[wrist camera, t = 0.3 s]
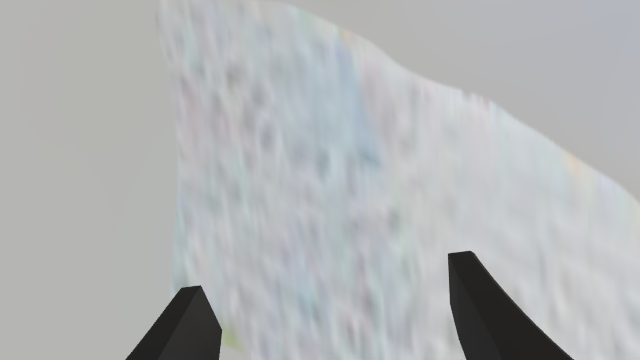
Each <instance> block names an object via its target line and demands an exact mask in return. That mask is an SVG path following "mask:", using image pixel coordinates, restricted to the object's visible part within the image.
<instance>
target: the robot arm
mask: <svg viewBox="0 0 640 360" xmlns="http://www.w3.org/2000/svg"><path fill="white" fill-rule="evenodd" d="M448 266H449V290H450V305H451V309H452V313H453V318H454V322H455V326H456V329H457V333H458V337H459V340H460V343H461V346H462V349H463V351H464V354H465V357H466V360H574V359H572V358H571V357H570V356H569V355H568V354H567V353H566V352H564V351H563V350H562V349H561V348H560V347H559V346H558V345H557V344H556V343H554V342H553V341H552V340H551V339H550V338H549V337H548V336H547V335H546V334H545V333H544V332H543V331H542V330H541V329H540V328H539V327H538V326H537V325H536V324H535V323H534V322H533V321H532V320H531V319H530V318H529V317H528V316H527V315H526V314H525V313H524V312H523V311H522V310H521V309H520V308H519V307H518V306H517V305H516V303H515V302H514V301H513V300H512V299H511V298H510V297H509V296H508V295H507V294H506V292H505V291H504V290H503V289H502V288H501V287H500V286H499V284H498V283H497V282H496V281H495V280H494V278H493V277H492V276H491V275H490V273H489V272H488V271H487V270H486V268H485V267H484V266H483V265H482V263H481V262H480V261H479V259H478V258H477V256H476V255H475V254H474V253H473V252H472V251H465V252H457V253H449V254H448ZM221 336H222V329H221V327H220V325H219V323H218V320H217V318H216V316H215V314H214V312H213V310H212V308H211V306H210V304H209V301H208V299H207V297H206V295H205V293H204V291H203V289H202V287H201V285H200V286H192V287H185V288H181V289H180V290H179V292H178V293H177V294H176V295H175V297H174V298H173V299H172V301H171V302H170V303H169V305H168V306H167V307H166V309H165V310H164V311H163V313H162V314H161V315H160V317H159V318H158V319H157V320H156V322H155V323H154V324H153V326H152V327H151V329H150V330H149V331H148V332H147V333H146V335H145V336H144V337H143V339H142V340H141V341H140V343H139V344H138V345H137V346H136V347H135V349H134V350H133V352H131V354H130V355H129V356H128V357H127V358H126V360H219V354H220V345H221Z"/></svg>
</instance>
